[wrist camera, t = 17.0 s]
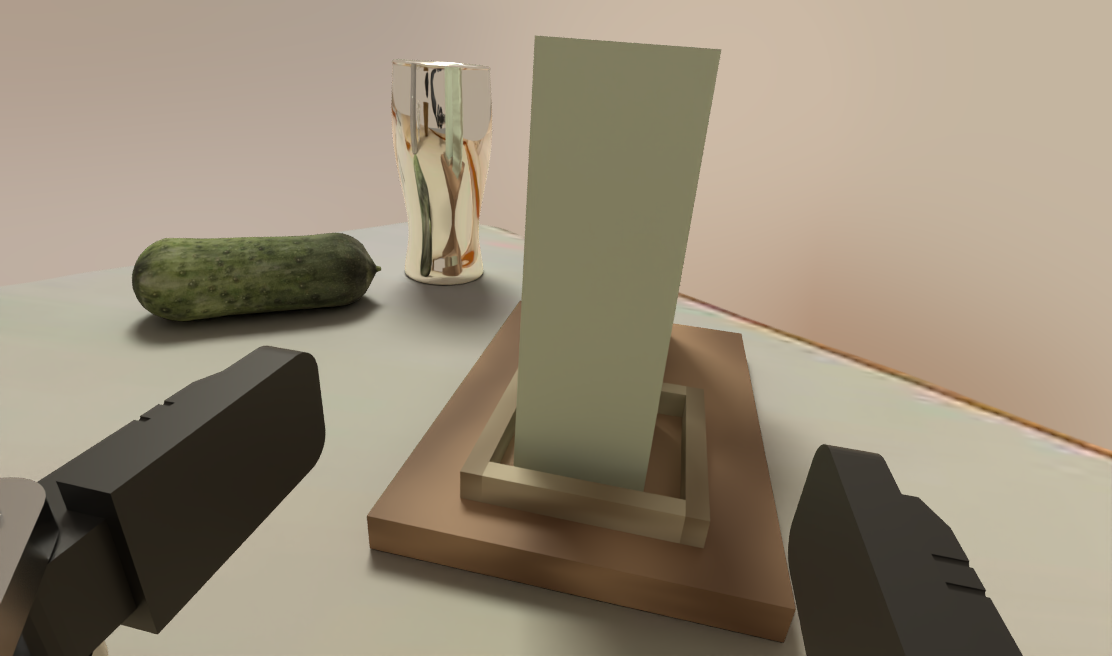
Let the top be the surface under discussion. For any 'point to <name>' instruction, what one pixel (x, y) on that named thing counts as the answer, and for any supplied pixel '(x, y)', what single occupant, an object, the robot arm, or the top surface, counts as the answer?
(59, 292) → the top surface
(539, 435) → the sage pillar
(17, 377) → the top surface
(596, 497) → the brown stand with socket
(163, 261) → the vegetable
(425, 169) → the beer glass
